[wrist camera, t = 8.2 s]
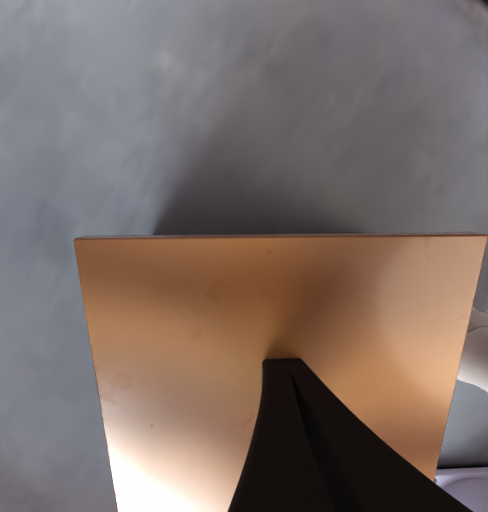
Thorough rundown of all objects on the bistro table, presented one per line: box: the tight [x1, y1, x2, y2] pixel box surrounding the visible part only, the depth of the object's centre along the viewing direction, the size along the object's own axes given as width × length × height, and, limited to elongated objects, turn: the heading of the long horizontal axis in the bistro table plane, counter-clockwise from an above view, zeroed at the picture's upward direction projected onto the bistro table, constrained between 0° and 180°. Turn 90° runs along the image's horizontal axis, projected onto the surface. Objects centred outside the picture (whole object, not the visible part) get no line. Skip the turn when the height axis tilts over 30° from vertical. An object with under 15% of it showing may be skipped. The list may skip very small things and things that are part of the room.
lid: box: [74, 232, 488, 512], centre depth 9 cm, size 14×12×1 cm
